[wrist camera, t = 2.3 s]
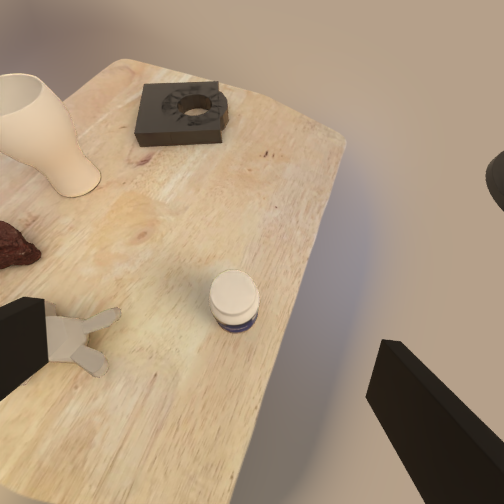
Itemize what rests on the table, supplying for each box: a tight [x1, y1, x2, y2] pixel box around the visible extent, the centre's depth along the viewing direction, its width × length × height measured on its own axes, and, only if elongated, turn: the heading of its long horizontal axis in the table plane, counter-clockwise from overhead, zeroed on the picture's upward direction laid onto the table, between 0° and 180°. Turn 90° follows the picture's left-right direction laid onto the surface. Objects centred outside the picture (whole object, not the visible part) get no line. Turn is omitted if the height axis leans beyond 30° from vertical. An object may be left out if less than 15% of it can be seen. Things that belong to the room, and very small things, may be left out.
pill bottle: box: [209, 270, 260, 334], centre depth 29 cm, size 6×6×10 cm
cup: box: [0, 73, 101, 197], centre depth 37 cm, size 11×11×15 cm
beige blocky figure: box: [21, 301, 122, 385], centre depth 29 cm, size 10×5×15 cm
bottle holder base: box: [134, 81, 229, 147], centre depth 50 cm, size 18×16×3 cm
